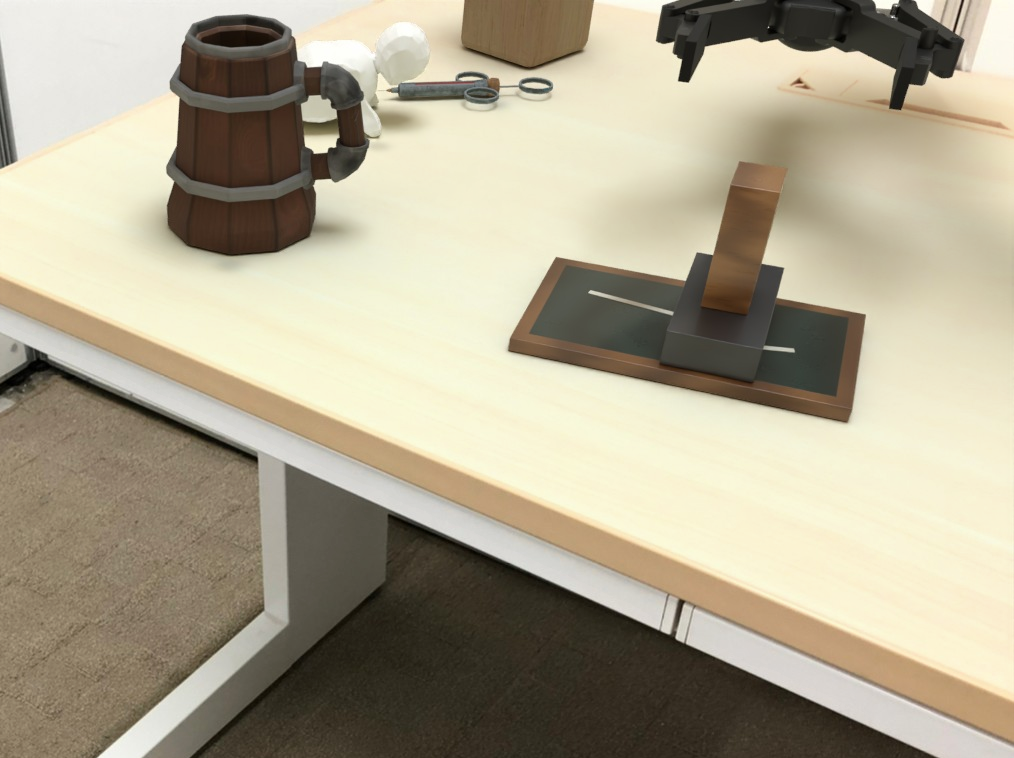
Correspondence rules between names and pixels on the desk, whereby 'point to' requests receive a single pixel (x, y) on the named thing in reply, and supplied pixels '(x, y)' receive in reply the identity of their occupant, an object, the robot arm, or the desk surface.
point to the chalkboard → (642, 329)
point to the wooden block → (526, 28)
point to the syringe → (467, 87)
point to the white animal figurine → (367, 68)
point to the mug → (253, 136)
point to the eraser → (731, 285)
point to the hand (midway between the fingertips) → (791, 75)
